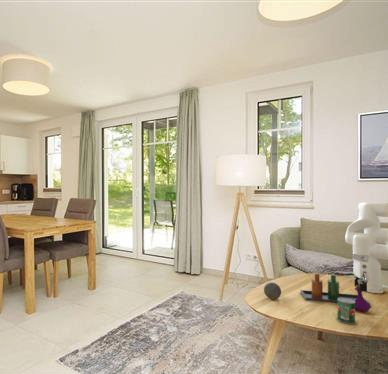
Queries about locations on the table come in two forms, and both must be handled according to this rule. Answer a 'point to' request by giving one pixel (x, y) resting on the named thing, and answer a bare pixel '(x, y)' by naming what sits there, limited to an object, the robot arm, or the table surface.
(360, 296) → the perfume bottle
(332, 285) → the green bottle
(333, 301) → the tray
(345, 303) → the canned tomato
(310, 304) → the table surface
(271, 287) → the decorative ball
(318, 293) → the amber bottle
